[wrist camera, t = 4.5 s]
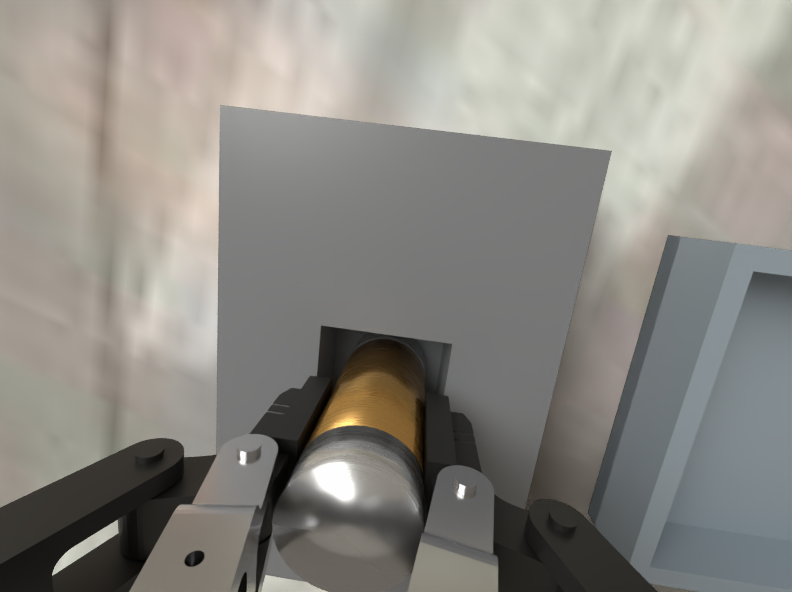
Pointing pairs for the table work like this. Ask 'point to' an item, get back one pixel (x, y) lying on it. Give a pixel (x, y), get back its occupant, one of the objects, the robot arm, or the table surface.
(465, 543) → the robot arm
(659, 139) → the table surface
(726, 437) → the parts tray
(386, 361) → the fuse
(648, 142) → the table surface
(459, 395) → the board
